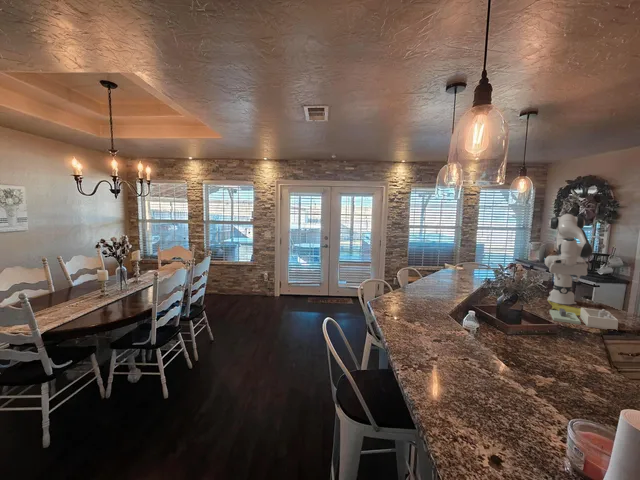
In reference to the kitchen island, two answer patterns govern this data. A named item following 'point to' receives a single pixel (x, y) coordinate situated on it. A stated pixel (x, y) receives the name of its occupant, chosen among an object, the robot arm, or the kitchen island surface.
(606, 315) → the white open box
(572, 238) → the robot arm
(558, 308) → the plastic component
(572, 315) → the green lid
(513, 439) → the kitchen island surface
